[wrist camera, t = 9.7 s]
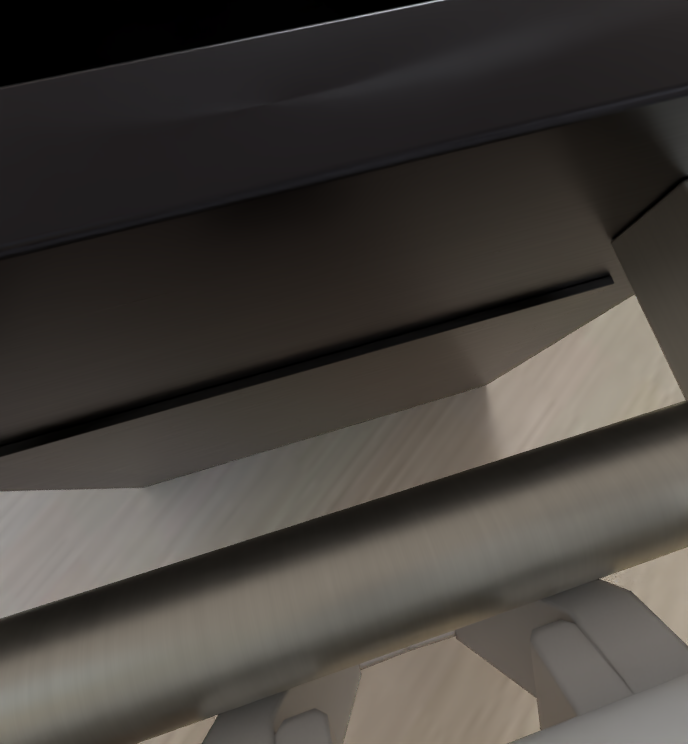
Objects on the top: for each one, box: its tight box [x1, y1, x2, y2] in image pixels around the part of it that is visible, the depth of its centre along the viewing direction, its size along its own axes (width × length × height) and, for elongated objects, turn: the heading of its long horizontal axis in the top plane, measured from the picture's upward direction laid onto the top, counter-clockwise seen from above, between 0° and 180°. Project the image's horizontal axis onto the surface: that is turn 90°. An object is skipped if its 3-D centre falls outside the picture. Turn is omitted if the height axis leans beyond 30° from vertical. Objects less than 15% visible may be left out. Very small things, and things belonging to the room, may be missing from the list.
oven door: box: [0, 0, 688, 744], centre depth 13 cm, size 6×18×20 cm, turn 107°
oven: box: [0, 0, 431, 87], centre depth 18 cm, size 16×18×20 cm
